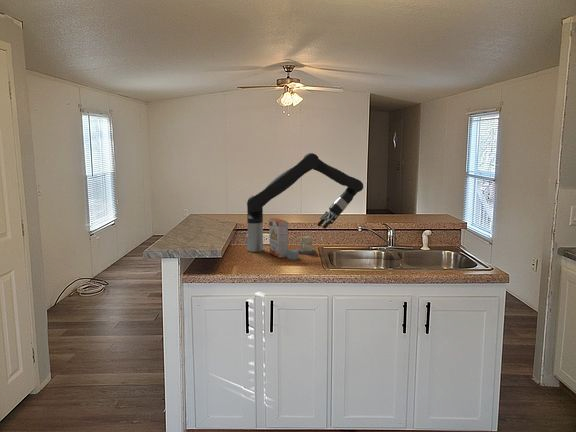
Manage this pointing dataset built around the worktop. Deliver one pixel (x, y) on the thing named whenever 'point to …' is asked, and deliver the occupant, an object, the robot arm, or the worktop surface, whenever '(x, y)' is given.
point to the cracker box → (278, 237)
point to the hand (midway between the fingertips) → (320, 226)
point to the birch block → (306, 243)
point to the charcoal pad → (306, 252)
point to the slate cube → (293, 254)
